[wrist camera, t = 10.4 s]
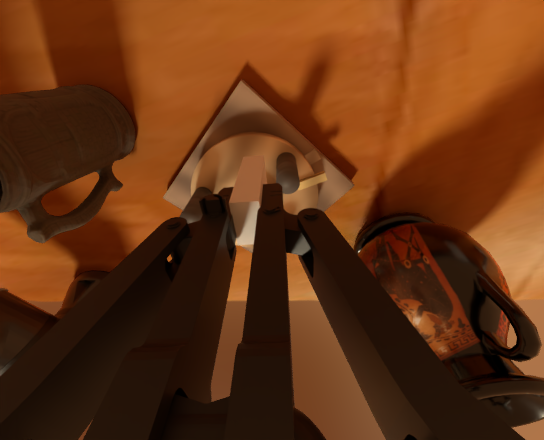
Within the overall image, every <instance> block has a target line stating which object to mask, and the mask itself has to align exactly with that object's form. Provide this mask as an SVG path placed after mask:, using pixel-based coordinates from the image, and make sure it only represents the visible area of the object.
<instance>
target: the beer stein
mask: <svg viewBox="0 0 544 440" xmlns="http://www.w3.org/2000/svg"><path fill="white" fill-rule="evenodd" d="M134 143H135V128H134V124H133V122H132V119H131V117H130V116H129V114H128V112H127V111H126V109H125V108H124V106H123V105H122V104H121V103H120V102H119V101H118V100H117V99H116V98H115V97H114V96H112V95H111V94H110V93H108V92H106V91H105V90H103V89H101V88H98V87H95V86H92V85H76V86H72V87H71V86H64V87H58V88H55V89H52V90H41V91H30V92H22V93H13V94H5V95H0V213H1V212H9V211H12V210H15V209H17V210H18V211H19V212H20V214H21V216H22V217H23V219H24V220H25V221H26V223H27V225H28V228H27V235H28V237H30V238H31V239H33V240H34V241H36V242H39V243H45V242H46V241H47V240H49V239H50V238H51V237H53V236H55V235H57V234H59V233H62V232H66V231H69V230H73V229H76V228H78V227H81V226H83V225H84V224H86V223H87V222H89V221H90V220H91V219H92V218H93V217H94V216H95V215H96V214H97V213H98V211H99V210H100V209H101V207H102V205H103V203H104V201H105V199H106V197H107V195H108V193H109V192H110V191H118V190H119V189H120V188H121V187H122V186H123V184H122V183H121V182H120V181H118V180H117V179H116V178H115V176H114V174H113V172H112V165H113V163H114V161H117V160H120V159H122V158H124V157H126V156H127V155H128V154H129V153H130V152H131V150H132V149H133V147H134ZM93 172H97V173H98V174H99V181H98V182H97V184H96V185H95V187H94V189H93V190H92V192H91V193H90V194H89V196H88V197H87V198H86V199H85V200H84V201H83V203H81V204H80V205H79V206H78V207H77V208H76V209H74V210H73V211H71V212H70V213H68V214H65V215H63V216H53V215H49V214H48V213H47V212H46V211H45V209H44V208H43V206H42V204H41V199H42V197H43V196H44V195H45V194H46V193H48V192H50V191H51V190H54V189H56V188H58V187H60V186H63V185H65V184H67V183H70V182H72V181H74V180H76V179H78V178H81V177H83V176H85V175H88V174H90V173H93Z"/></svg>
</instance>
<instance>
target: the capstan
mask: <svg viewBox="0 0 544 440" xmlns="http://www.w3.org/2000/svg"><path fill="white" fill-rule="evenodd" d="M260 155H264V159H265V169H266V178H267V184H273V183H279V184H280V185H281V186H282V191H283V206H284V210H285V211H286V212H288V213H290V214H294V215H297V214H298V213H299V212H300V211H301V210H303V209H306V208H317V204H318V185H317V184H318V183H321V182H324V181H326V180H327V177H326V174H325V172H324V171H322V172H320V173H317V174H314V172H313V169H312V167H311V165H310V163H309V162H308V160H307V159H306V157H305V156H304V155H303V154H302V153H301V152H300V151H299V150H298V149H297V148H296V147H295V146H293V145H292V144H290V143H289V142H288V141H286V140H284V139H282V138H280V137H277V136H274V135H271V134H266V133H261V132H244V133H239V134H234V135H231V136H229V137H226V138H224V139H222V140H220V141H219V142H217V143H216V144H214V145H213V146H212V147H211V148H210V149H209V150H208V151H207V152H206V153H205V154H204V156H203V157H202V158H201V160H200V161H199V163H198V164H197V166H196V168H195V170H194V173H193V176H192V181H191V199H190V200H189V202H188V203H187V205H186V207H185V208H184V210H183V212H182V213H181V215H180V217H182V218H185V219H186V220H187V223H192V222H196V221H199V220H201V218H202V215H203V214H202V210H201V207H200V204H199V200H200V199H201V198H202V197H204V196H206V195H209V194H218V192H219V191H220V190H221V189H223V188H225V187H234V185H235V182H236V179H237V175H238V172H239V169H240V166H241V163H242V160H243V157H247V156H260ZM235 245H238V244H237V239H236V242H235ZM253 245H254V244H250V245H239V246H243V247H249V248H253Z"/></svg>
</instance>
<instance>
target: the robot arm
mask: <svg viewBox="0 0 544 440" xmlns="http://www.w3.org/2000/svg"><path fill="white" fill-rule="evenodd" d="M199 204H200V207H201V210H202V214H203V215H202V218H201V220H199V221H196V222H192V223H187V220H186V219H185V218H182V217H175V218H171V219H169V220H166V221H165V222H163V223H162V224H161V225H160V226H159V227H158V228H157V229H156V230H155V231H154V232H153V233H152V234H150V235H149V236H148V237H147V238H146V239H145V240H144V241H143V242H142V243H141V244H140V245H139V246H138V247H137V248H136V249H135V250H134V251H132V252H131V253H130V254H129V255H128V256H127V257H126V258H125V259H124V260H123V261H122V262H121V263H120V264H119V265H118V266H117V267H116V268H114V269H113V270H112V271H111V272H110V273H107V272H102V271H88V272H84V273H82V274H80V275H79V276H78V277H77V278H76V279H75V280H74V281H73V282H72V283H71V285H70V287H69V289H68V291H67V294H66V296H65V299H64V301H63V304H62V306H61V308H60V310H59V311H58V312H57V314H56V315H55V316H53V315H52V314H50V313H48V312H46V311H44V310H42V309H40V308H38V307H36V306H34V305H32V304H31V303H29V302H27V301H25V300H23V299H21V298H19V297H17V296H15V295H13V294H11V293H10V292H8V290H7V289H5V288H0V440H78V439H79V437H80V436H81V435H82V433H83V432H84V431H85V429H86V428H87V426H88V425H89V424H90V422H91V421H92V420H93V421H92V423H91V425H90V427H89V429H88V431H87V433H86V435H85V437H84V439H83V440H326V439H325V437H324V436H323V434H322V433H321V432H320V430H319V429H318V428H317V427H316V425H315V424H314V423H313V422H312V421H311V420H310V419H309V418H308V417H307V416H306V415H305V414H304V413H302V412H301V411H299V410H298V409H296V408H295V407H294V392H293V391H294V390H293V372H292V354H291V334H290V315H289V296H288V277H287V256H286V252H287V253H292V254H297V255H298V256H299V259H300V262H301V264H302V266H303V268H304V270H305V272H306V274H307V276H308V278H309V281H310V283H311V285H312V287H313V289H314V291H315V293H316V295H317V297H318V300H319V302H320V304H321V306H322V308H323V310H324V312H325V314H326V316H327V319H328V321H329V323H330V325H331V327H332V329H333V331H334V333H335V335H336V338H337V340H338V342H339V344H340V346H341V348H342V350H343V352H344V354H345V356H346V359H347V361H348V363H349V365H350V367H351V369H352V371H353V373H354V375H355V378H356V379H357V382H358V384H359V386H360V388H361V390H362V392H363V394H364V396H365V399H366V401H367V403H368V405H369V407H370V409H371V411H372V413H373V416H374V417H375V419H376V421H377V423H378V425H379V427H380V429H381V431H382V433H383V435H384V436H385V438H386V440H525V439H524V438H523V437H522V436H520V435H519V434H518V433H517V432H516V431H514V430H513V429H512V428H511V427H510V426H509V425H507V424H506V423H505V422H504V421H503V420H501V419H500V418H499V417H498V416H497V415H496V414H494V413H493V412H492V411H491V410H490V409H488V408H487V407H486V406H485V405H484V404H482V403H481V402H480V401H479V400H478V399H477V398H475V397H474V396H473V395H472V394H471V393H469V392H468V391H467V390H466V389H465V388H463V387H462V386H461V385H460V384H459V383H458V382H457V380H456V379H455V378H454V376H453V375H452V374H451V373H450V371H449V370H448V369H447V368H446V366H445V365H444V364H443V363H442V361H441V360H440V359H439V357H438V356H437V355H436V354H435V352H434V351H433V350H432V349H431V347H430V346H429V345H428V344H427V342H426V341H425V340H424V338H423V337H422V336H421V335H420V333H419V332H418V331H417V330H416V328H415V327H414V326H413V325H412V323H411V322H410V321H409V319H408V318H407V317H406V316H405V314H404V313H403V312H402V311H401V309H400V308H399V307H398V306H397V304H396V303H395V302H394V300H393V299H392V298H391V297H390V295H389V294H388V293H387V292H386V290H385V289H384V288H383V287H382V285H381V284H380V283H379V281H378V280H377V279H376V278H375V276H374V275H373V274H372V273H371V271H370V270H369V269H368V268H367V266H366V265H365V264H364V262H363V261H362V260H361V259H360V257H359V256H358V255H357V254H356V252H355V251H354V250H353V249H352V247H351V246H350V245H349V243H348V242H347V241H346V240H345V238H344V237H343V236H342V235H341V233H340V232H339V231H338V230H337V228H336V227H335V226H334V224H333V223H332V222H331V221H330V219H329V218H328V217H327V216H326V214H325V213H324V212H323V211H322V210H319V209H317V208H306V209H303V210H301V211H300V212H299V213H298V214H297V215H294V214H290V213H288V212H286V211H285V210H284V206H283V191H282V186H281V185H280V184H279V183H273V184H267V178H266V169H265V159H264V155H260V156H247V157H243V160H242V163H241V166H240V169H239V172H238V175H237V179H236V182H235V185H234V187H225V188H223V189H221V190H220V191H219V192H218V194H209V195H206V196H204V197H202V198H201V199H200V200H199ZM236 239H237V244H238V245H250V244H254V245H253V254H252V262H251V270H250V279H249V287H248V296H247V304H246V313H245V322H244V329H243V338H242V341H241V343H240V344H238V347H237V350H236V355H235V362H234V370H233V377H232V385H231V393H230V396H229V397H226V398H223V399H220V400H217V401H214V402H211V380H212V375H213V370H214V365H215V359H216V354H217V349H218V344H219V339H220V334H221V329H222V323H223V318H224V313H225V308H226V303H227V298H228V293H229V287H230V282H231V277H232V272H233V267H234V262H235V257H236V245H235V242H236ZM170 254H171V257H172V260H171V261H170V262H168V261H167V257H168V256H169V255H170ZM93 418H94V419H93Z"/></svg>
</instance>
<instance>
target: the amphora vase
mask: <svg viewBox="0 0 544 440" xmlns="http://www.w3.org/2000/svg"><path fill="white" fill-rule="evenodd" d="M354 251H355V252H356V254H357V255H358V256H359V257H360V259H361V260H362V261H363V262H364V264H365V265H366V266H367V268H368V269H369V270H370V271H371V273H372V274H373V275H374V276H375V278H376V279H377V280H378V281H379V283H380V284H381V285H382V287H383V288H384V289H385V290H386V292H387V293H388V294H389V295H390V297H391V298H392V299H393V300H394V302H395V303H396V304H397V306H398V307H399V308H400V309H401V311H402V312H403V313H404V314H405V316H406V317H407V318H408V319H409V321H410V322H411V323H412V325H413V326H414V327H415V328H416V330H417V331H418V332H419V333H420V335H421V336H422V337H423V338H424V340H425V341H426V342H427V344H428V345H429V346H430V347H431V349H432V350H433V351H434V352H435V354H436V355H437V356H438V357H439V359H440V360H441V361H442V363H443V364H444V365H445V366H446V368H447V369H448V370H449V371H450V373H451V374H452V375H453V376H454V378H455V379H456V380H457V382H458V383H459V384H460V385H461V386H462V387H463V388H465V389H466V390H467V391H468V392H469V393H471V394H472V395H473V396H474V397H475V398H477V399H478V400H479V401H480V402H481V403H482V404H484V405H485V406H486V407H487V408H488V409H490V410H491V411H492V412H493V413H494V414H496V415H497V416H498V417H499V418H500V419H501V420H503V421H504V422H505V423H506V424H507V425H509V426H510V427H511V428H512V427H517V426H521V425H526V424H530V423H533V422H536V421H539V420H542V419H544V378H540V377H536V376H531V375H525V374H524V373H523V372H522V371H521V370H520V369H519V368H518V367H517V366H516V365H515V364H514V363H513V362H512V361H511V360H514V361H518V362H522V361H527V360H530V359H532V358H534V357H536V356H538V354H539V351H540V348H541V341H540V338H539V335H538V332H537V329H536V326H535V325H534V324H533V323H532V321H531V320H530V319H529V317H528V316H527V315H526V314H525V312H524V311H523V310H522V309H521V308H520V307H519V306H518V305H517V304H516V303H515V302H514V301H513V299H512V298H511V295H510V291H509V288H508V285H507V283H506V280H505V278H504V276H503V273H502V271H501V269H500V267H499V265H498V264H497V263H496V261H495V260H494V258H493V257H492V256H491V254H490V253H489V252H488V251H487V250H486V249H485V248H484V247H482V246H481V245H480V244H479V243H478V242H477V241H475V240H474V239H473V238H472V237H471V236H469V235H468V234H467V233H465V232H462V231H460V230H457V229H455V228H452V227H449V226H447V225H444V224H436V223H435V222H433V221H432V220H431V219H430V218H428V217H426V216H423V215H421V214H417V213H399V214H393V215H390V216H387V217H383V218H381V219H379V220H377V221H376V222H374V223H372V224H371V225H370V226H368V227H367V228H366V229H365V230H364V231H363V232H362V233H361V234H360V236H359V237H358V238H357V240H356V242H355V245H354ZM510 323H511V325H512V326H513V328H514V331H515V333H516V336H517V342H516V345H515V346H514V347H513V348H510V347H507V336H508V330H509V325H510Z"/></svg>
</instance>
